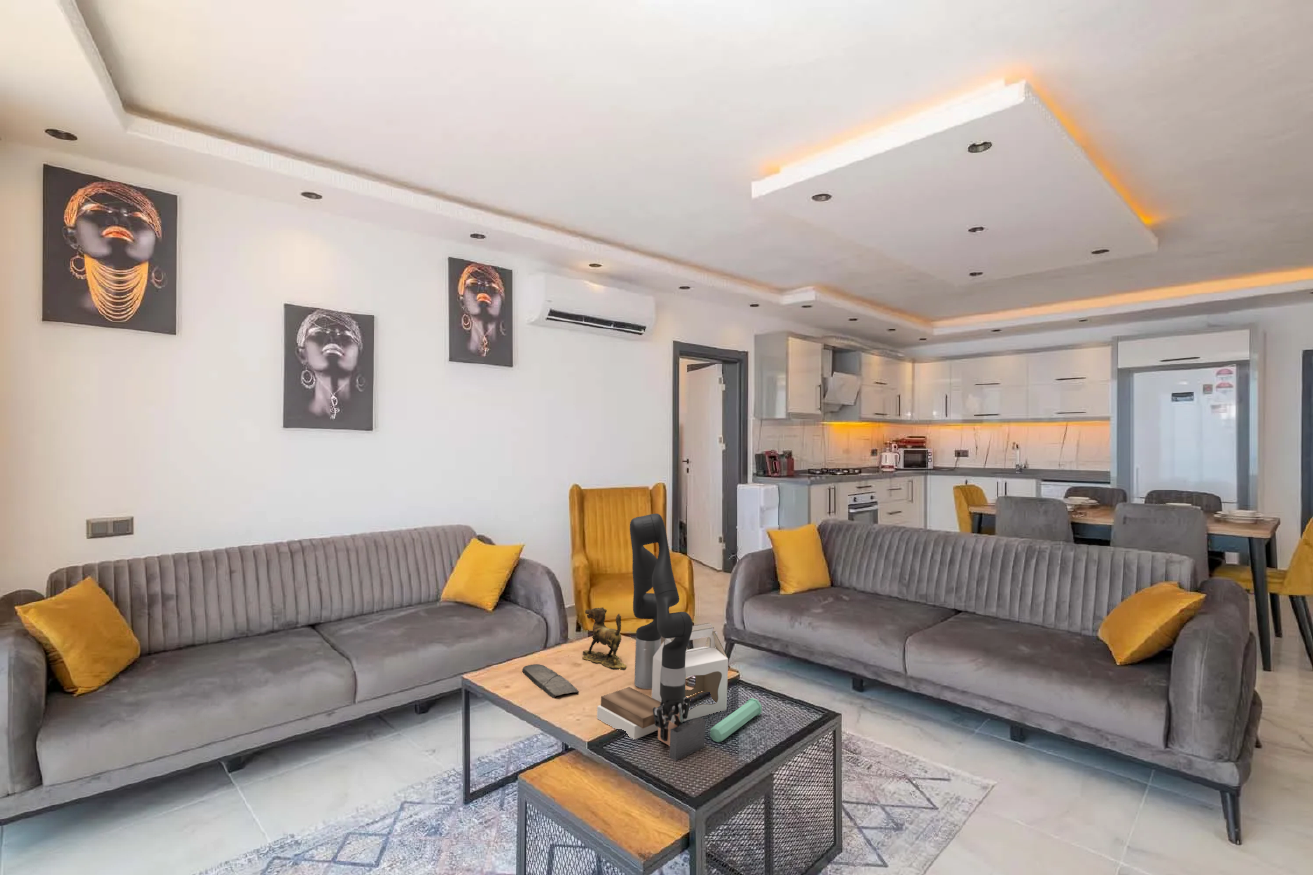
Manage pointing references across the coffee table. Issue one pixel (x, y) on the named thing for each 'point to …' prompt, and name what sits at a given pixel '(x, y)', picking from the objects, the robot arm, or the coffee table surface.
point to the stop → (687, 738)
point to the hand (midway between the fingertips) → (670, 736)
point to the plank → (631, 706)
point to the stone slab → (548, 680)
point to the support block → (670, 726)
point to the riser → (623, 723)
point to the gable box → (700, 671)
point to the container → (736, 720)
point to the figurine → (604, 640)
